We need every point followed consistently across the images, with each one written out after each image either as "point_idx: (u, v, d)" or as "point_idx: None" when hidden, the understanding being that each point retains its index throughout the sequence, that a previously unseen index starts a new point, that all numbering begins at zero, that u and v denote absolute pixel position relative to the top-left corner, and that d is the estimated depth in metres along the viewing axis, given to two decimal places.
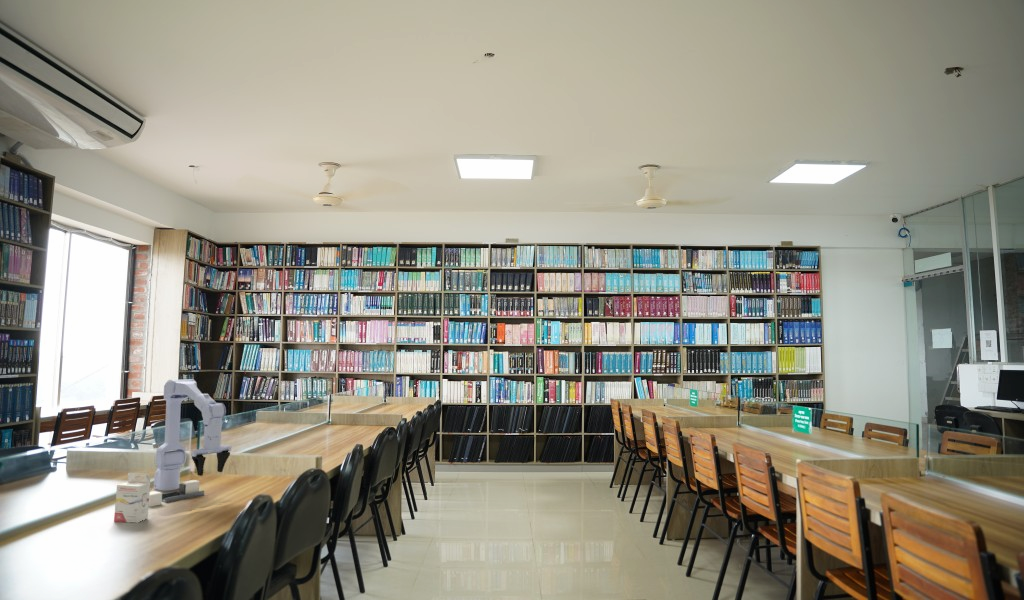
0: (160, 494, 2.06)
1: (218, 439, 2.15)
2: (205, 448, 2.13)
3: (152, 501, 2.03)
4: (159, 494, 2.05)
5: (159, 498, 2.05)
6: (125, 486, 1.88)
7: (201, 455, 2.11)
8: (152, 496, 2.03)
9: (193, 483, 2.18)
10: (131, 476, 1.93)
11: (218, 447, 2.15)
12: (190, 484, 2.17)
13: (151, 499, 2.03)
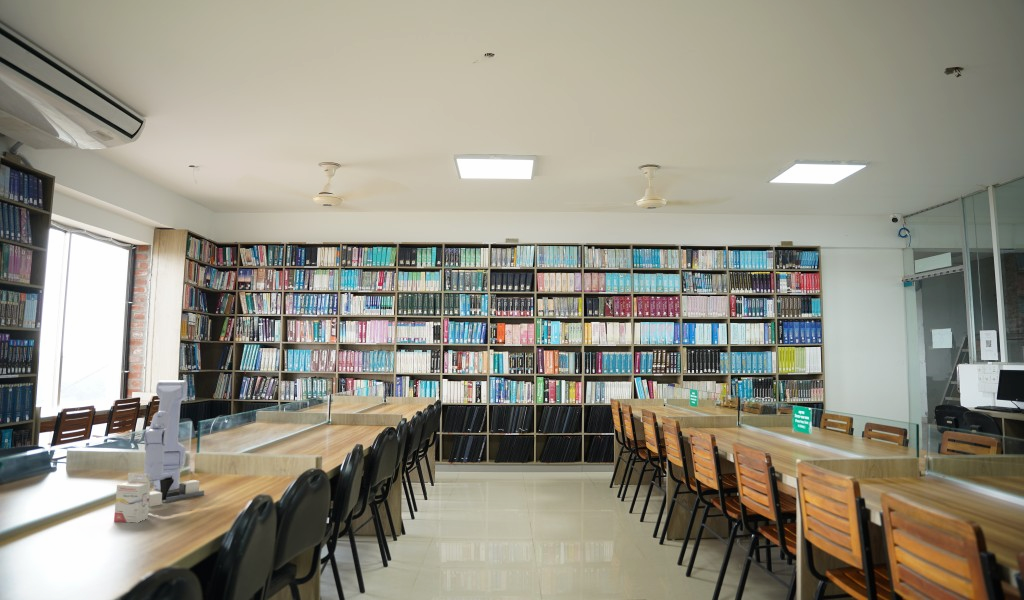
0: (160, 494, 2.06)
1: (160, 466, 2.06)
2: None
3: (152, 501, 2.03)
4: (159, 494, 2.05)
5: (159, 498, 2.05)
6: (125, 486, 1.88)
7: None
8: (152, 496, 2.03)
9: (193, 483, 2.18)
10: (131, 475, 1.93)
11: (160, 474, 2.06)
12: (190, 484, 2.17)
13: (151, 499, 2.03)
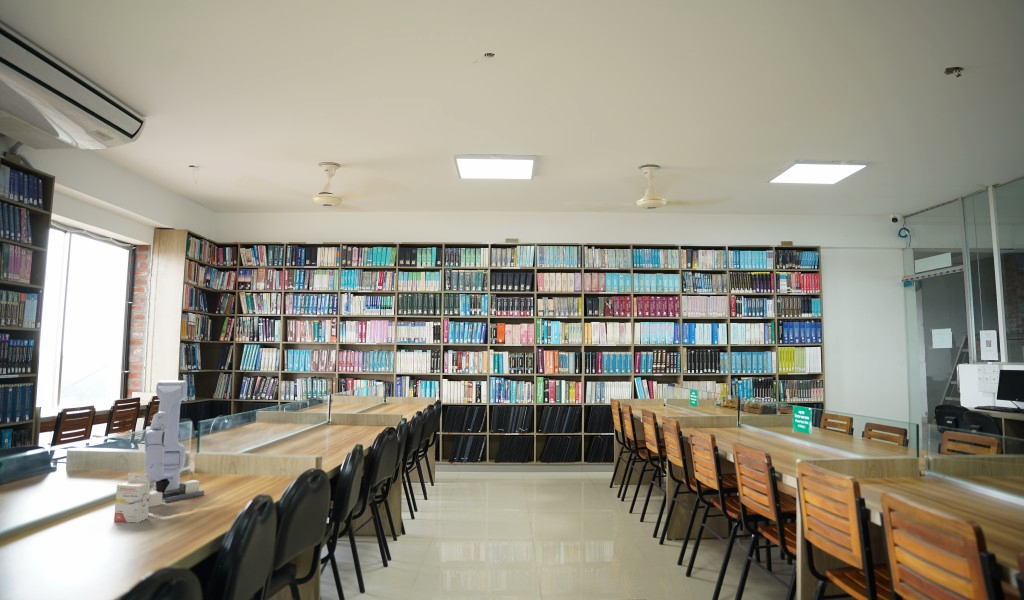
0: (160, 494, 2.05)
1: (160, 467, 2.06)
2: None
3: (153, 501, 2.03)
4: (159, 494, 2.05)
5: (159, 498, 2.05)
6: (125, 486, 1.88)
7: None
8: (152, 496, 2.03)
9: (193, 483, 2.18)
10: (131, 476, 1.93)
11: (160, 475, 2.06)
12: (190, 484, 2.17)
13: (151, 499, 2.03)
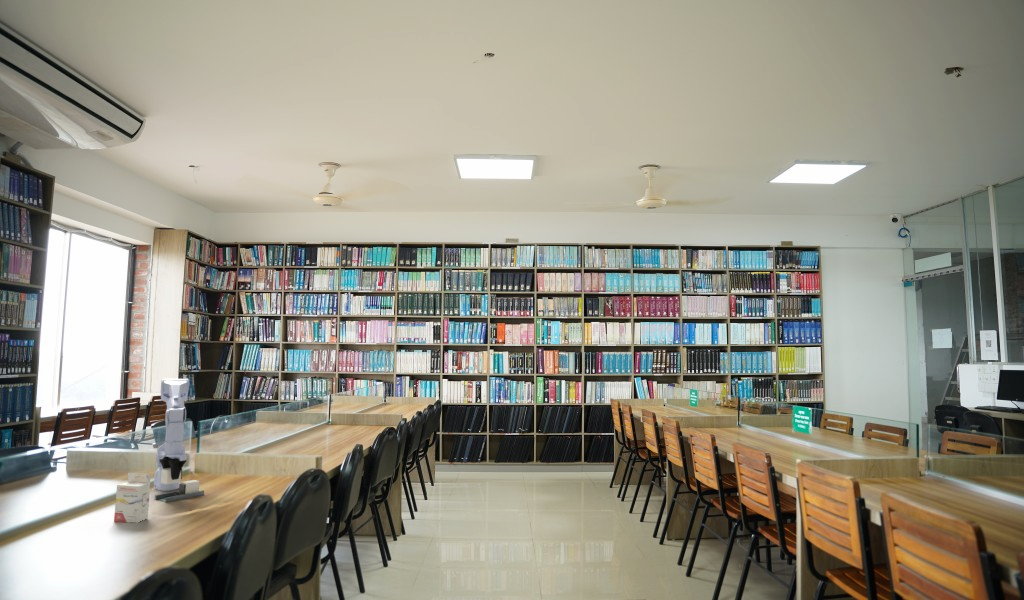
0: (166, 471, 2.11)
1: (167, 444, 2.12)
2: None
3: (162, 475, 2.12)
4: (166, 471, 2.11)
5: (166, 475, 2.11)
6: (125, 486, 1.88)
7: (164, 457, 2.15)
8: (162, 471, 2.12)
9: (193, 483, 2.18)
10: (131, 476, 1.93)
11: (167, 453, 2.11)
12: (190, 484, 2.17)
13: (162, 473, 2.12)
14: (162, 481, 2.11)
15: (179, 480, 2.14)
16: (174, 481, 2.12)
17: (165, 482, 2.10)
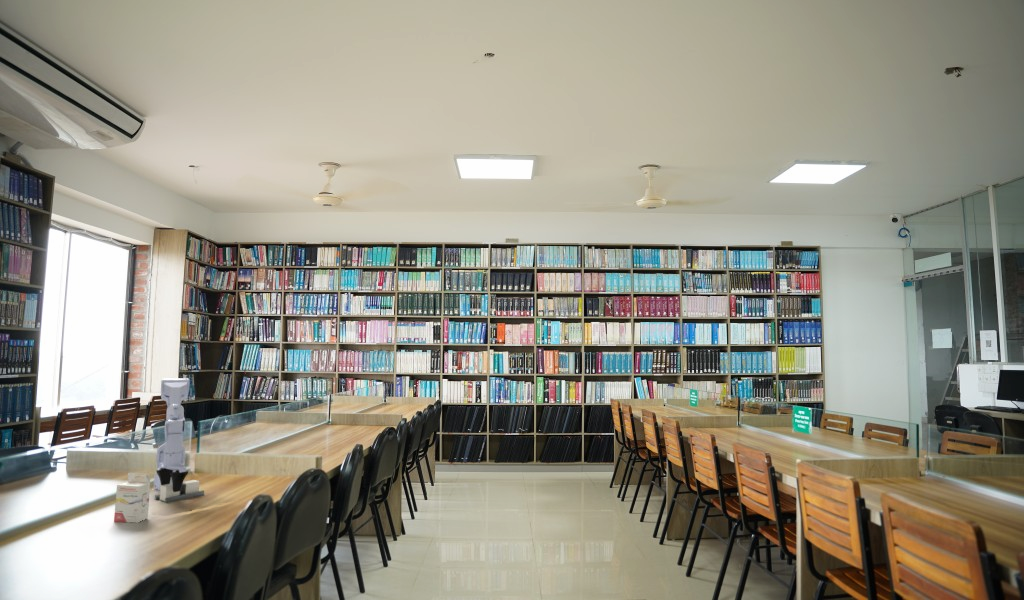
0: (165, 488, 2.10)
1: (166, 456, 2.11)
2: None
3: (161, 492, 2.11)
4: (165, 487, 2.10)
5: (164, 491, 2.10)
6: (125, 486, 1.88)
7: (163, 468, 2.15)
8: (161, 487, 2.11)
9: (193, 483, 2.18)
10: (131, 476, 1.93)
11: (166, 464, 2.11)
12: (190, 484, 2.17)
13: (160, 490, 2.11)
14: (161, 497, 2.11)
15: None
16: None
17: (164, 499, 2.10)
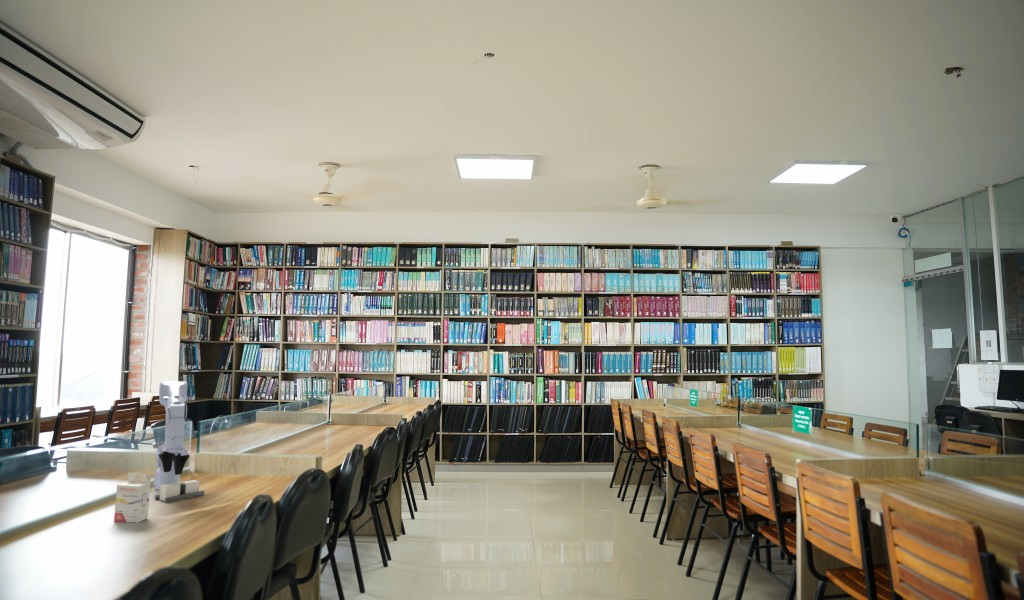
0: (165, 488, 2.10)
1: (168, 440, 2.16)
2: None
3: (161, 492, 2.11)
4: (165, 487, 2.10)
5: (164, 491, 2.10)
6: (125, 486, 1.88)
7: (165, 452, 2.20)
8: (161, 487, 2.11)
9: (193, 483, 2.18)
10: (131, 476, 1.93)
11: (168, 448, 2.16)
12: (190, 484, 2.17)
13: (160, 490, 2.11)
14: (161, 497, 2.11)
15: None
16: None
17: (164, 499, 2.10)
